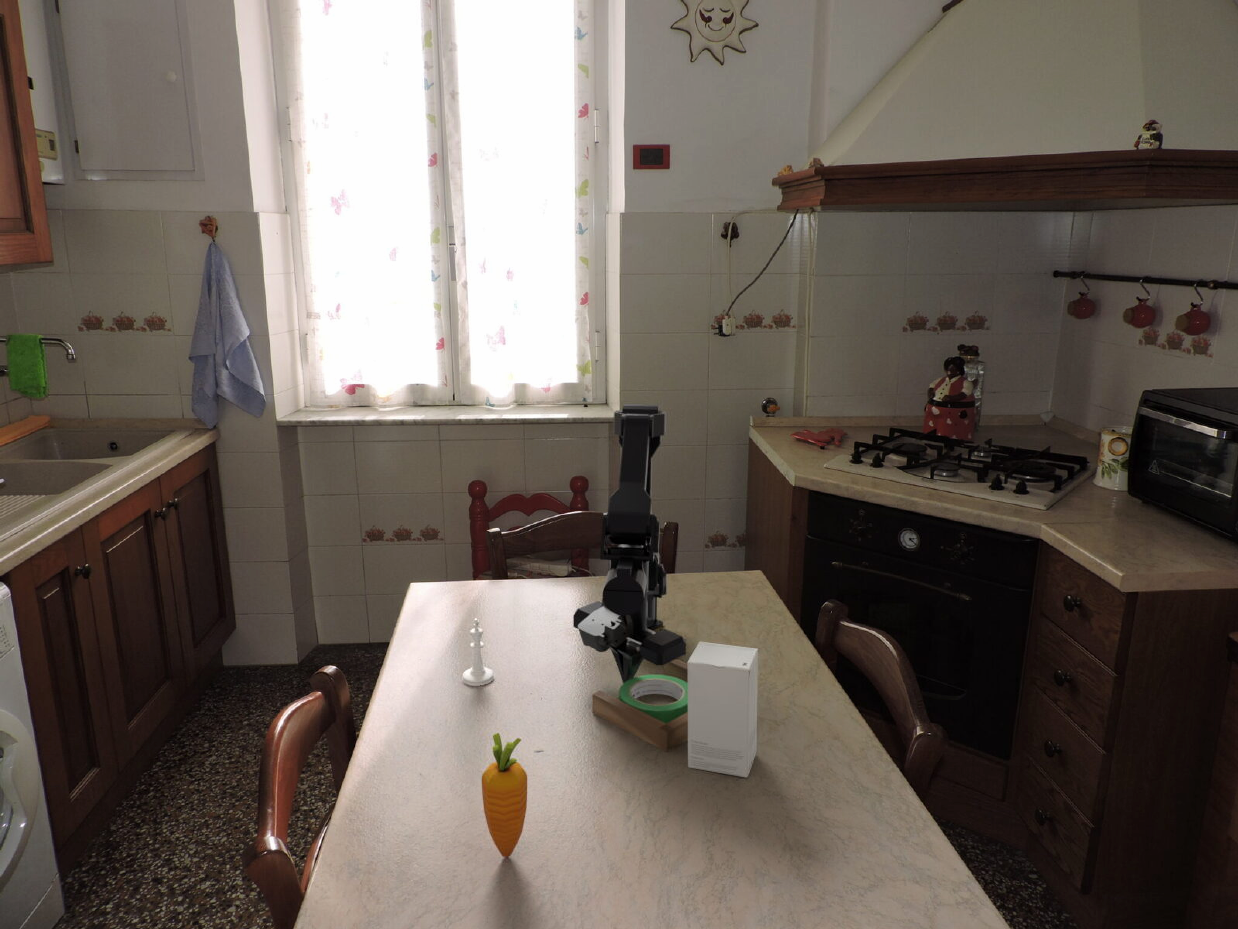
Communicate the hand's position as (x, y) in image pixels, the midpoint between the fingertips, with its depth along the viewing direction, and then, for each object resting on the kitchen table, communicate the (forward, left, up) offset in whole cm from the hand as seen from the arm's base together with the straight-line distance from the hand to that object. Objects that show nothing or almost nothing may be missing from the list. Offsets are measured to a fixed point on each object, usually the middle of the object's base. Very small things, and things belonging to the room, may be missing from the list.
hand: (627, 683), depth 140 cm
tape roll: (0, +7, -2) cm, 7 cm away
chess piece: (+14, -19, -1) cm, 23 cm away
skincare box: (+5, +22, -1) cm, 23 cm away
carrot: (+37, +17, -1) cm, 41 cm away
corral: (0, +8, -1) cm, 8 cm away
